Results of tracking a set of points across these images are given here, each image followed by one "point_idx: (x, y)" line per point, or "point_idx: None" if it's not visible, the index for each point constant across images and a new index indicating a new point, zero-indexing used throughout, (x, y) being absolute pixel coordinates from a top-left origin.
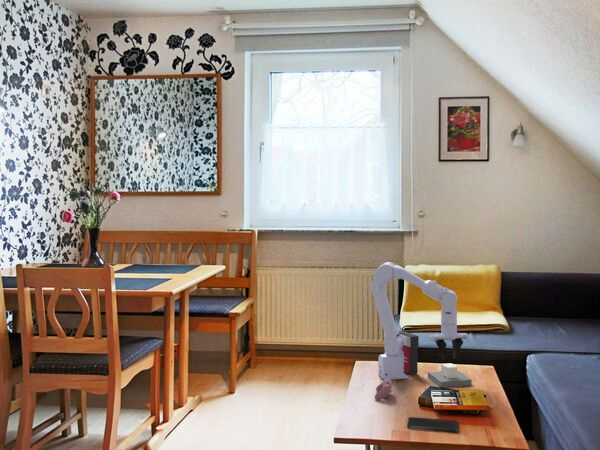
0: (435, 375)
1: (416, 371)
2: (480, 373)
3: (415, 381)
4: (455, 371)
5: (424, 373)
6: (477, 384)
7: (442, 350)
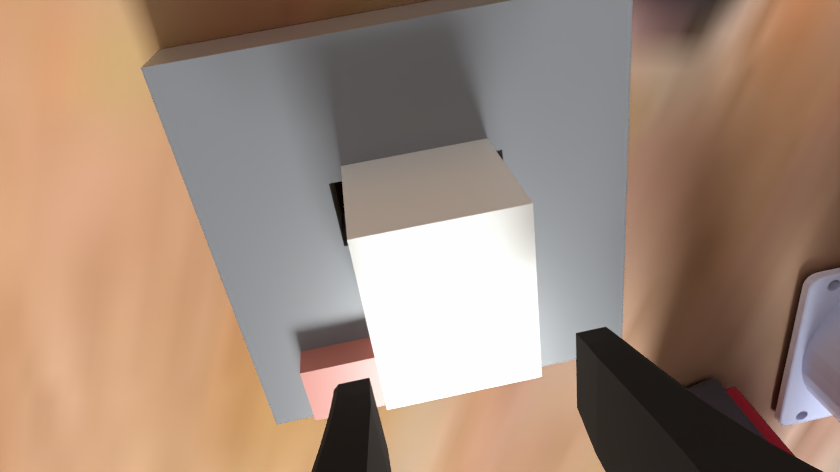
0: (587, 248)
1: None
2: (8, 447)
3: (772, 198)
4: (373, 198)
5: (580, 415)
6: (70, 73)
7: (783, 453)
